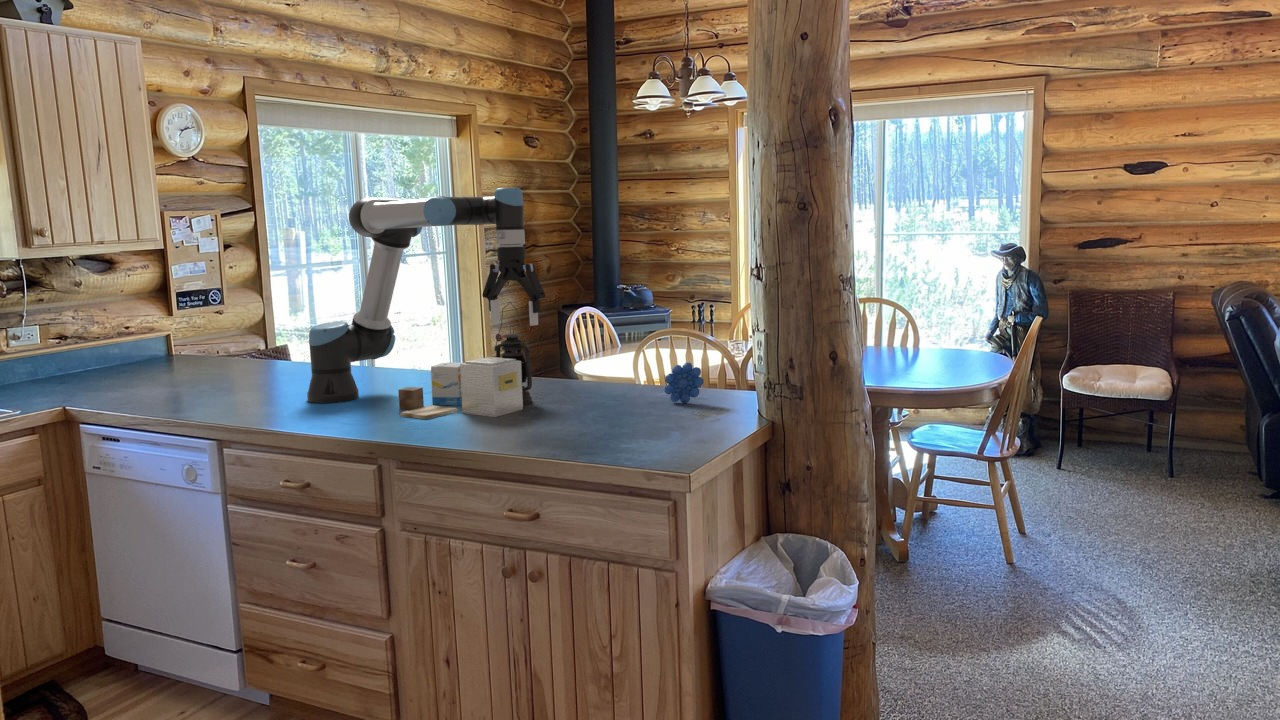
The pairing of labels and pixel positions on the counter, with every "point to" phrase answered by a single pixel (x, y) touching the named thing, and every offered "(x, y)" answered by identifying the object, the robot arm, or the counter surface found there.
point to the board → (428, 412)
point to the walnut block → (410, 398)
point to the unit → (491, 386)
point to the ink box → (446, 384)
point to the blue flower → (683, 382)
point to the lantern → (517, 357)
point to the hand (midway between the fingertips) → (514, 324)
